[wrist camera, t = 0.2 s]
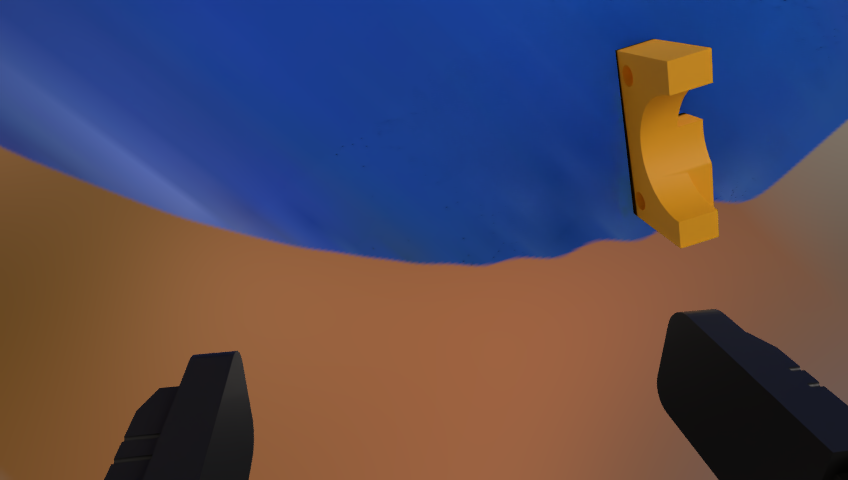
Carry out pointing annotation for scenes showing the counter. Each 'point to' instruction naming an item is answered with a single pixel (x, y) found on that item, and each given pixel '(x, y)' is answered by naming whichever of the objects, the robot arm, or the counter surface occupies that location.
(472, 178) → the counter surface
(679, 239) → the pipe clamp
